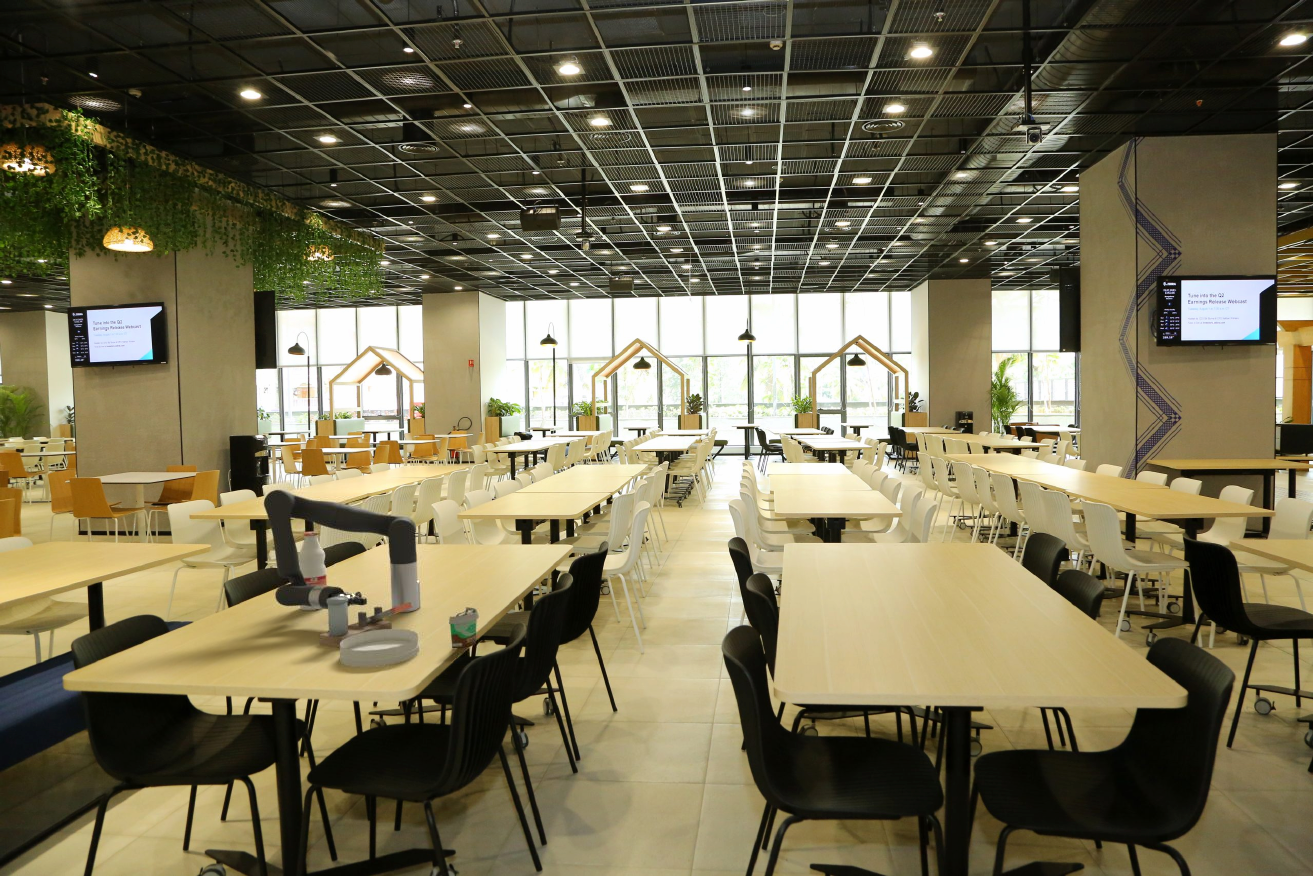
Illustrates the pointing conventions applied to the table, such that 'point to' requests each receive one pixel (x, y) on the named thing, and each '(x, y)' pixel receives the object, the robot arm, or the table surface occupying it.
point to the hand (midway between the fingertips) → (365, 601)
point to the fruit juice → (312, 563)
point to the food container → (464, 628)
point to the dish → (379, 647)
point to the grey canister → (338, 616)
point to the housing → (357, 628)
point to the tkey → (388, 612)
